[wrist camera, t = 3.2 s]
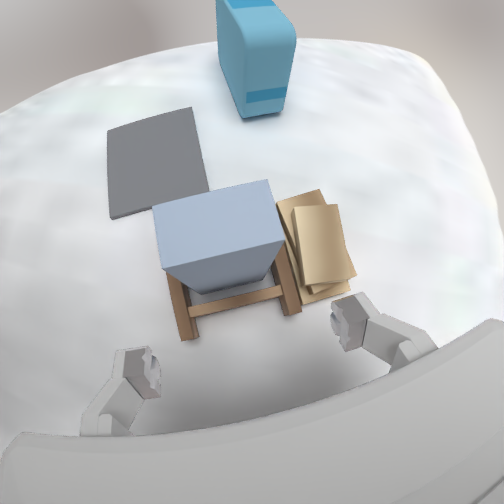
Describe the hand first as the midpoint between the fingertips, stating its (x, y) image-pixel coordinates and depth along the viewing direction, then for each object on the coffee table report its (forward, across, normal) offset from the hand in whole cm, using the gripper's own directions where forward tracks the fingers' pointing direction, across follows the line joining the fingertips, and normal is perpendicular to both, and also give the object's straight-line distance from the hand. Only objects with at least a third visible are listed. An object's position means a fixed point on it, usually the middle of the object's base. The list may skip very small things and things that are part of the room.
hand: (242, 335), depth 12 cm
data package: (+28, -7, -9) cm, 30 cm away
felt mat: (+22, +5, -4) cm, 22 cm away
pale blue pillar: (+12, 0, +5) cm, 14 cm away
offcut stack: (+12, -8, +5) cm, 16 cm away
